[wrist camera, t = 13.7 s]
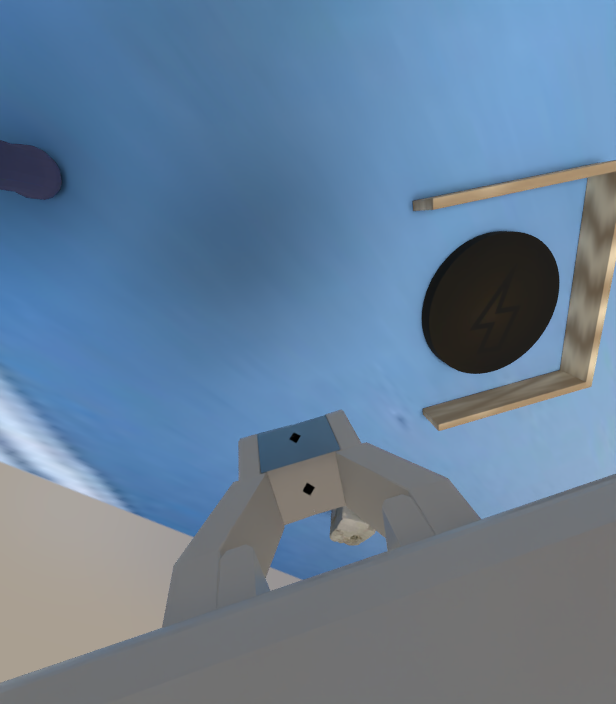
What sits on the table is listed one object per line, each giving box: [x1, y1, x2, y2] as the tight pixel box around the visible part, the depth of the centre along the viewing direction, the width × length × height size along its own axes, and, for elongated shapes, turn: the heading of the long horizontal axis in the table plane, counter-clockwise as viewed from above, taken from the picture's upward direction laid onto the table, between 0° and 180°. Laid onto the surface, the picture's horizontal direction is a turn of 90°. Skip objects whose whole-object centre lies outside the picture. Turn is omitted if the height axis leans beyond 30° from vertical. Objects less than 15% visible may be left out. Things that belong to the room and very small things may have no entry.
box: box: [413, 160, 616, 431], centre depth 40 cm, size 28×23×4 cm
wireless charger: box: [422, 231, 559, 374], centre depth 41 cm, size 18×18×2 cm
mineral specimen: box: [330, 506, 376, 545], centre depth 45 cm, size 7×9×8 cm
